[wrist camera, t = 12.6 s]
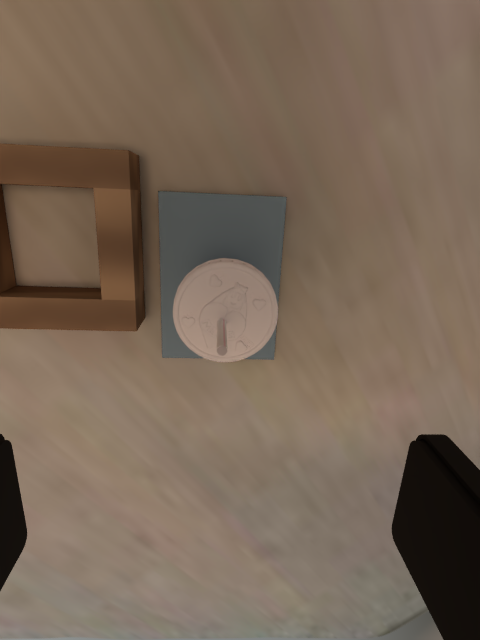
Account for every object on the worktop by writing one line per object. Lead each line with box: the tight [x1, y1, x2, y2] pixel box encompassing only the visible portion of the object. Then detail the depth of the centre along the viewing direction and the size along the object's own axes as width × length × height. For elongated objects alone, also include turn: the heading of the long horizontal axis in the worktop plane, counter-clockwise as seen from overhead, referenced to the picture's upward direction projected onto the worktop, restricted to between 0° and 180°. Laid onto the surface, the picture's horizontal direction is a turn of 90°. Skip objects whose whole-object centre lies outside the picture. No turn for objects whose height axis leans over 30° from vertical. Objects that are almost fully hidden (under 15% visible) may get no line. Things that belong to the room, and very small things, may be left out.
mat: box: [158, 191, 287, 360], centre depth 32 cm, size 14×10×1 cm
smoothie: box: [173, 258, 278, 362], centre depth 25 cm, size 6×6×14 cm
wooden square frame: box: [0, 144, 145, 331], centre depth 29 cm, size 13×13×4 cm
